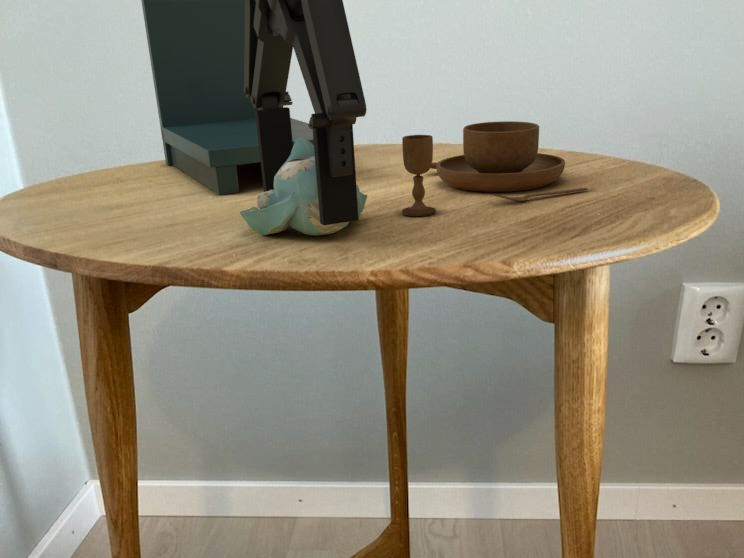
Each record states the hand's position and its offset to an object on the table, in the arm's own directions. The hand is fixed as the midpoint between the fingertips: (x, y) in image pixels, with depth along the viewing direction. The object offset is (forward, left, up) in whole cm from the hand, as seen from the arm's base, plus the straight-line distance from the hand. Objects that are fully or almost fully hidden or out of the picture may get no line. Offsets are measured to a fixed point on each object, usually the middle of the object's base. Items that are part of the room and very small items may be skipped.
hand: (307, 206), depth 72 cm
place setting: (+18, +7, -2) cm, 19 cm away
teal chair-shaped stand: (+4, +28, -2) cm, 28 cm away
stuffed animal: (0, 0, -2) cm, 2 cm away
